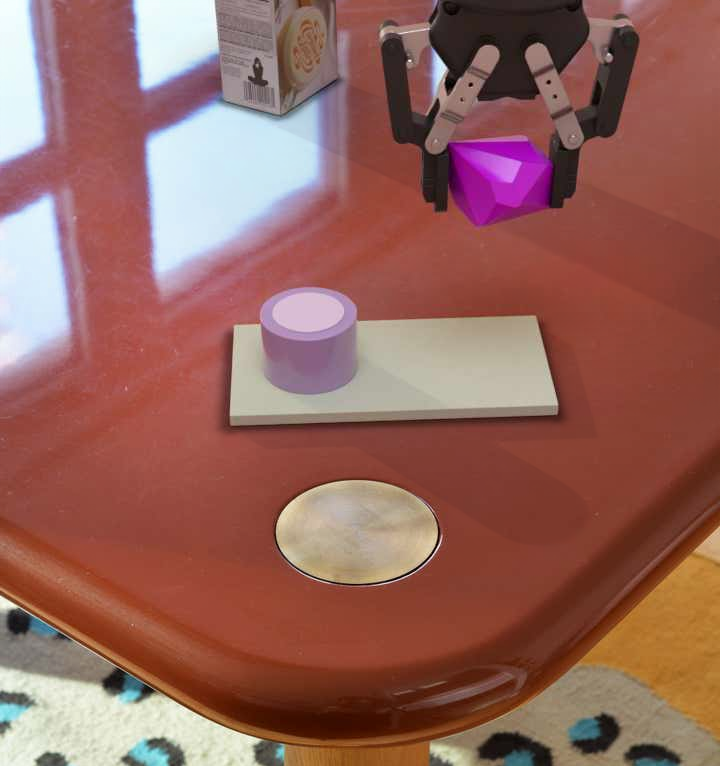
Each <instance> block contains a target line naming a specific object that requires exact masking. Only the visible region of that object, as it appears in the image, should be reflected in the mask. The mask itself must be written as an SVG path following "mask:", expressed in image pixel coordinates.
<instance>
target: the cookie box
mask: <svg viewBox="0 0 720 766" xmlns="http://www.w3.org/2000/svg"><path fill="white" fill-rule="evenodd" d="M214 10H215V20H216V22H215V23H216V32H217V43H218V55H219V67H220V78H221V89H222V99H223V101H225V102H226V103H231V104H234V105H239V106H242V107H246V108H249V109H255V110H256V111H257V110H258V111H261V112H265V113H269V114H272V115H276V116H280V117H281V116H284V115H285V114H287V113H288V112H289V111H291V110H292V109H294V108H296V107H297V106H298V105H299V104H301V103H303V102H304V101H306V100H307V99H309V98H310V97H312V96H313V95H314V94H316V93H317V92H319V91H320V90H322V89H323V88H325V87H326V86H328V85H329V84H331V83H332V82H333V81H334V82H335V80H337V79H338V78H339V64H338V63H339V62H338V59H339V58H338V31H337V30H338V28H337V25H338V24H337V1H336V0H214Z"/></svg>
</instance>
